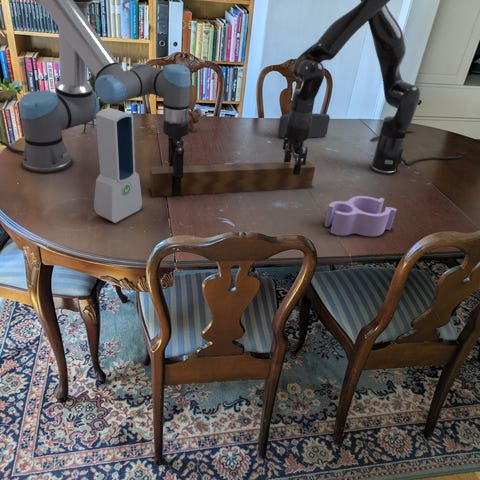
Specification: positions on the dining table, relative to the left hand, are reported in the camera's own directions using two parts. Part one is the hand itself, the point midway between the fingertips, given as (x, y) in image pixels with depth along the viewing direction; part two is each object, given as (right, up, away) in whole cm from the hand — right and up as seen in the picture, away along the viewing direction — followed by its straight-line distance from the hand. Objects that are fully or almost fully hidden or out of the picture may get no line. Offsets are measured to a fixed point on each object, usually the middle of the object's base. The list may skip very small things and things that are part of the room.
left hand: (174, 190), depth 151 cm
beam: (+19, +1, +6) cm, 20 cm away
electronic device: (-15, -8, -14) cm, 22 cm away
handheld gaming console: (+48, +29, +54) cm, 78 cm away
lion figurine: (-2, +31, +49) cm, 58 cm away
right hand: (+39, +8, +8) cm, 40 cm away
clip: (+57, -12, -8) cm, 59 cm away
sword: (+92, +32, +66) cm, 118 cm away
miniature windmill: (-37, +28, +38) cm, 60 cm away
